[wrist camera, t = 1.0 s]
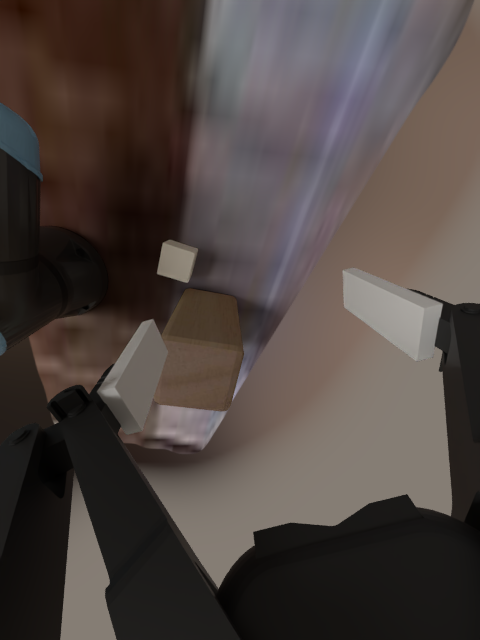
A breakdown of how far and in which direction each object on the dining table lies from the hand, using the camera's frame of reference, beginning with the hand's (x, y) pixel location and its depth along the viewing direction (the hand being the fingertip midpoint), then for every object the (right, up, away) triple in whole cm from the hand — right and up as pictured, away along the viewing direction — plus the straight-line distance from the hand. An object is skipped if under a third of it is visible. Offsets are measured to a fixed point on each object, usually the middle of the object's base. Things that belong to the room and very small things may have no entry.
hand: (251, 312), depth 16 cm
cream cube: (-11, +10, +25) cm, 29 cm away
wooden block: (-7, +1, +30) cm, 31 cm away
